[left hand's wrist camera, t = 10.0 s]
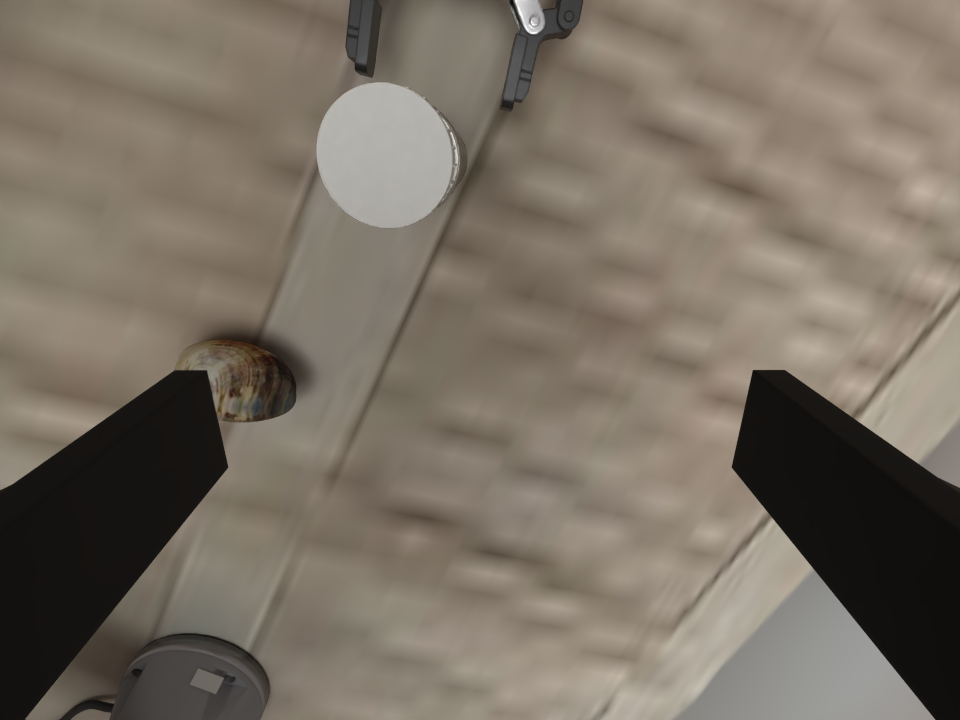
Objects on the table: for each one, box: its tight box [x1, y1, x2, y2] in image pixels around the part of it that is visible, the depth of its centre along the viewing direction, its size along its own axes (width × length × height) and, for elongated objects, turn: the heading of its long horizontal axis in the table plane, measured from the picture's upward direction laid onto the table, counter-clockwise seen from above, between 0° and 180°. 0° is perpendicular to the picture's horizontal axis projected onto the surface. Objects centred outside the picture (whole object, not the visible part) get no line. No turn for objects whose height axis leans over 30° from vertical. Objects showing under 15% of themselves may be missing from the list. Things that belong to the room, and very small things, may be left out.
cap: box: [316, 82, 457, 228], centre depth 18 cm, size 5×5×2 cm
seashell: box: [174, 340, 296, 422], centre depth 39 cm, size 10×6×8 cm, turn 70°
